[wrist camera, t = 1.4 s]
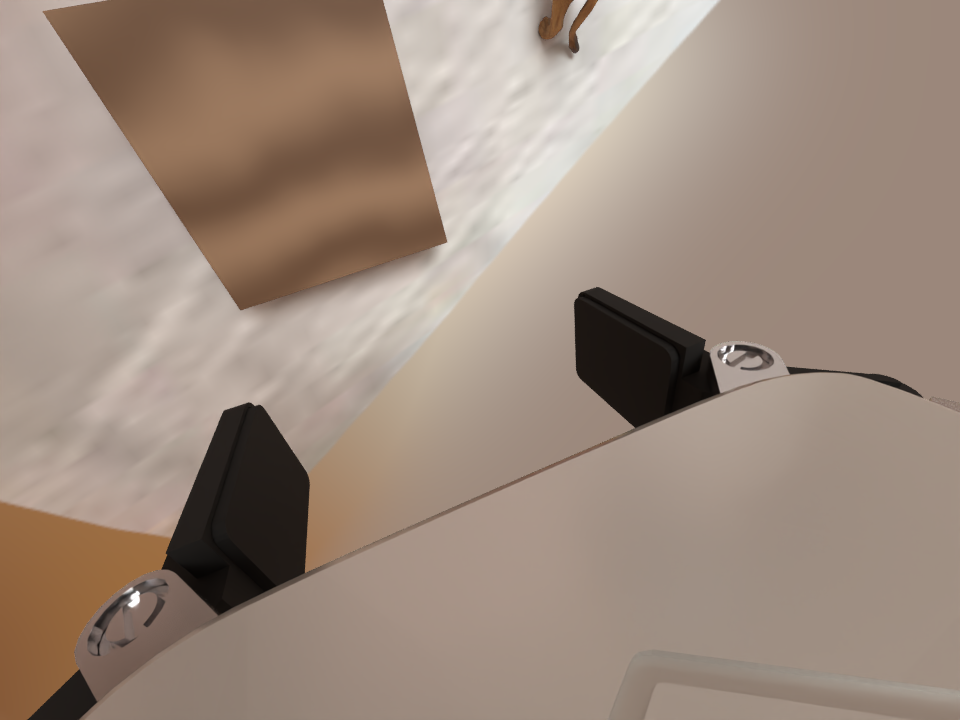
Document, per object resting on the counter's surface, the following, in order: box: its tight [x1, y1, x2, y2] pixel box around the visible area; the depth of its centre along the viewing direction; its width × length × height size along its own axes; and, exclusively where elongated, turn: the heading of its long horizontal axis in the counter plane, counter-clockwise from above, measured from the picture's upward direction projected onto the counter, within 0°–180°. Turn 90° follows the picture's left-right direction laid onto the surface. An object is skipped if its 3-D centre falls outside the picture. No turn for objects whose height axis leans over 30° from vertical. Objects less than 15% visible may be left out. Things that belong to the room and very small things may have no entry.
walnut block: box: [43, 0, 447, 310], centre depth 25 cm, size 16×16×5 cm
